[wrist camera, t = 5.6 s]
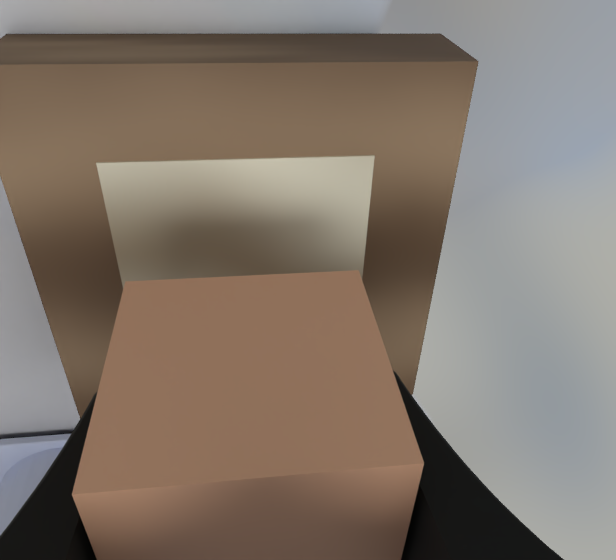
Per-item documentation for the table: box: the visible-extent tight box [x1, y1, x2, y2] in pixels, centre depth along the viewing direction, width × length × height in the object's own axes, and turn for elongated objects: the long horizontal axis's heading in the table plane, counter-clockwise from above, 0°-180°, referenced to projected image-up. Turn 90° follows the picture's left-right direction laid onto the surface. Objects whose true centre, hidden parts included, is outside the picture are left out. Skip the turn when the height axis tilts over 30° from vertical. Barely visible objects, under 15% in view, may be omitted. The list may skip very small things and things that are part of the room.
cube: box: [72, 270, 424, 560], centre depth 11 cm, size 5×5×5 cm
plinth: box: [0, 34, 478, 419], centre depth 18 cm, size 12×12×3 cm
